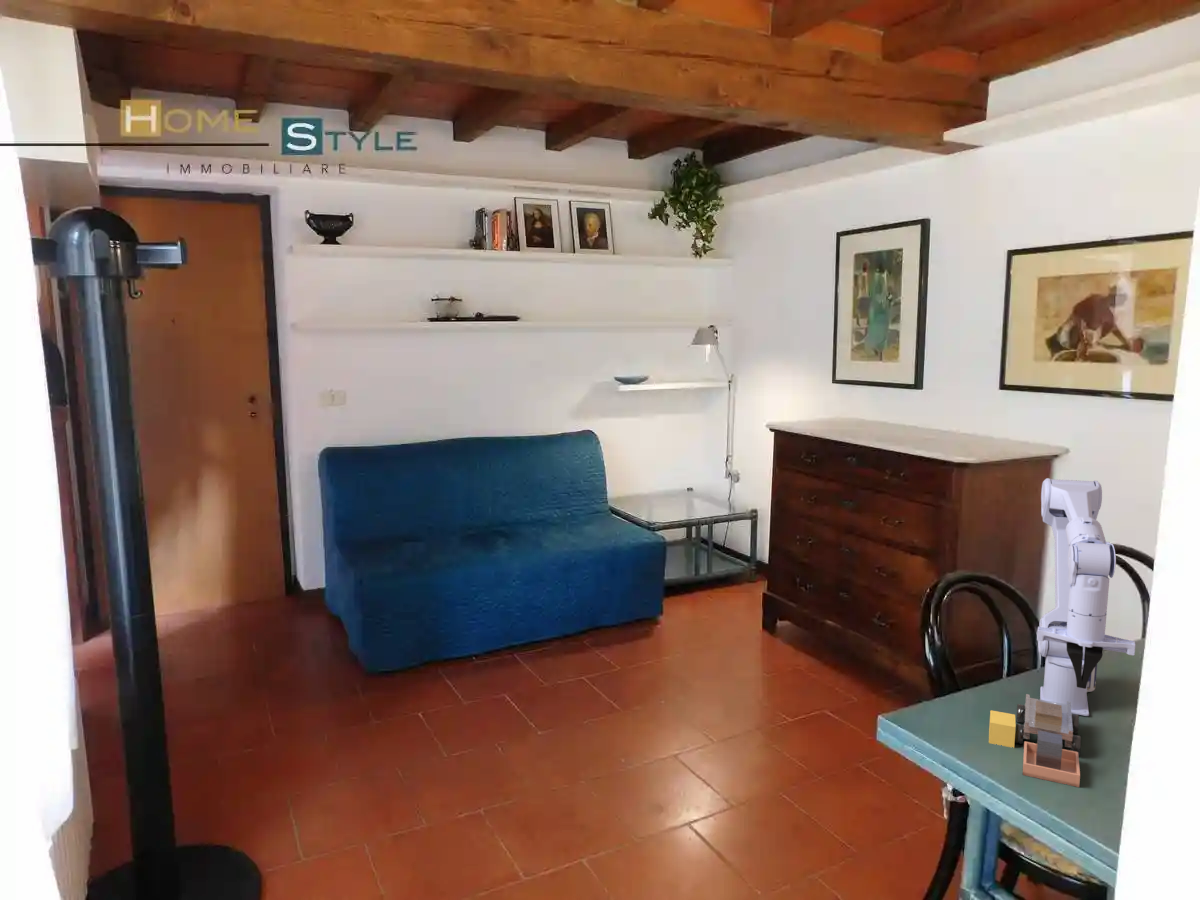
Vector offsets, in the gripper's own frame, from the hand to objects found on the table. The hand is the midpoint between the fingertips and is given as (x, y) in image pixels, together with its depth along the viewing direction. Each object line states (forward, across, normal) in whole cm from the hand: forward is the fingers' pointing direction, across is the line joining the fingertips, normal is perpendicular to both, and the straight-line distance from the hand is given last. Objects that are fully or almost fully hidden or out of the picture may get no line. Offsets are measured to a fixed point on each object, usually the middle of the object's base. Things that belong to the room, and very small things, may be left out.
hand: (1081, 685), depth 142 cm
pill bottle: (+10, +1, +25) cm, 27 cm away
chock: (+11, -12, -5) cm, 17 cm away
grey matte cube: (+10, -4, -12) cm, 16 cm away
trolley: (+10, -5, -1) cm, 11 cm away
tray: (+10, -4, -12) cm, 16 cm away
